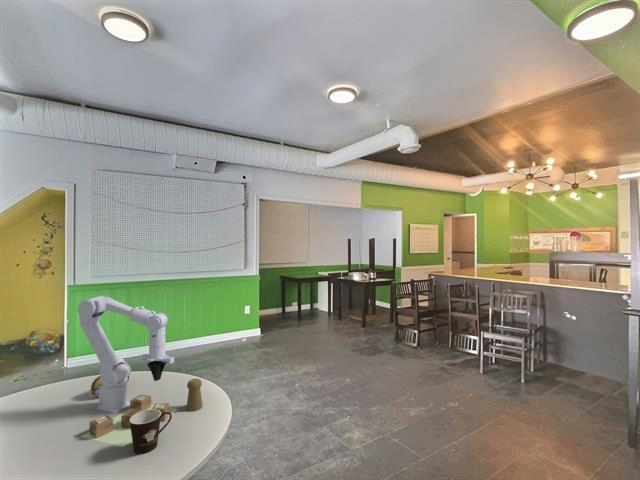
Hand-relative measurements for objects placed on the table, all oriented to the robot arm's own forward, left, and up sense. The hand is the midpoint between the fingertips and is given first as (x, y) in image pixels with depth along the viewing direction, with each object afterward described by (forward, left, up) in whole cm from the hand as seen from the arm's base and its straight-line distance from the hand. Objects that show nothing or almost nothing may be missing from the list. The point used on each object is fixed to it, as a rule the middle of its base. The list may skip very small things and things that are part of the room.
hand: (157, 379), depth 127 cm
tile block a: (-4, -20, -10) cm, 23 cm away
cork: (+15, +3, -11) cm, 19 cm away
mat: (+1, -12, -10) cm, 16 cm away
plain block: (+2, -13, -10) cm, 17 cm away
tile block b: (+8, -7, -10) cm, 15 cm away
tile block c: (-4, -4, -10) cm, 11 cm away
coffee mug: (+18, -21, -11) cm, 30 cm away
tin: (-29, +4, -11) cm, 31 cm away
